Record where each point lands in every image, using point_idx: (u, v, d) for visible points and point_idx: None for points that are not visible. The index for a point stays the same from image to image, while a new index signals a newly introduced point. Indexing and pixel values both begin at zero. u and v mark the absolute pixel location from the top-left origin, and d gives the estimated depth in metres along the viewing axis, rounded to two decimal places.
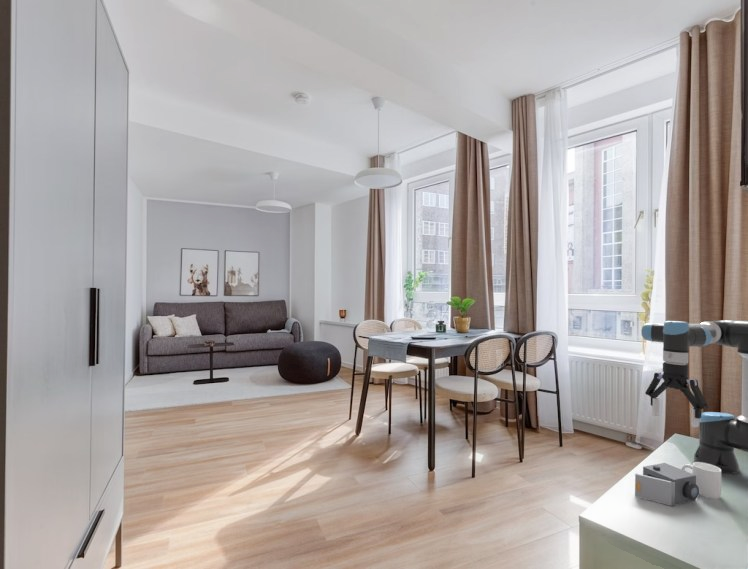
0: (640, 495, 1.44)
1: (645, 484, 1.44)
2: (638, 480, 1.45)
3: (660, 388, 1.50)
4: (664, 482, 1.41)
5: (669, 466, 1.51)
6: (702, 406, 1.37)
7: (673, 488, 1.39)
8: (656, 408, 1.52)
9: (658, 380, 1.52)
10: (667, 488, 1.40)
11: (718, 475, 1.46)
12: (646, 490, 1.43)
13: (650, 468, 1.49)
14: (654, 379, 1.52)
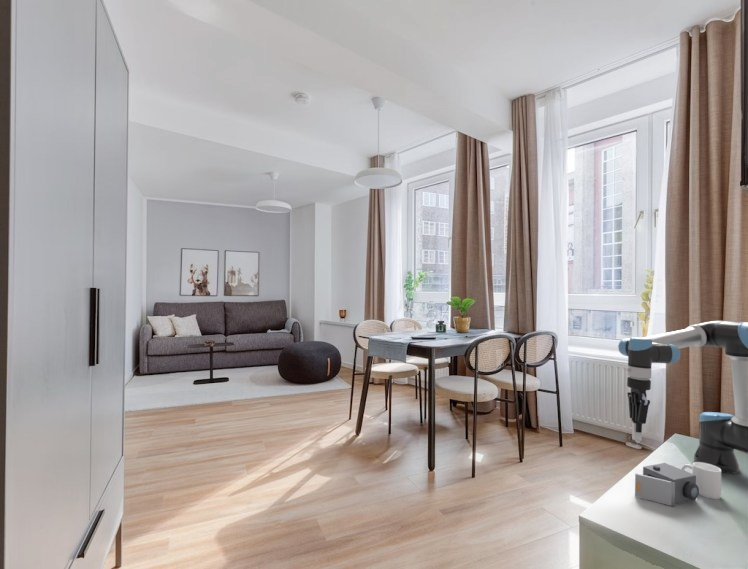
0: (640, 495, 1.44)
1: (645, 484, 1.44)
2: (638, 480, 1.45)
3: (633, 406, 1.54)
4: (664, 482, 1.41)
5: (669, 466, 1.51)
6: (638, 421, 1.49)
7: (673, 488, 1.39)
8: None
9: None
10: (667, 488, 1.40)
11: (718, 475, 1.46)
12: (646, 490, 1.43)
13: (650, 468, 1.49)
14: (629, 398, 1.57)
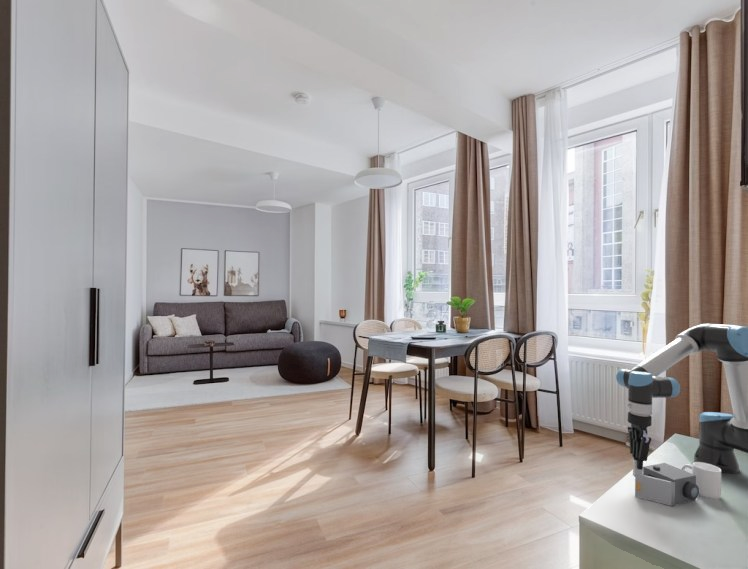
0: (640, 495, 1.44)
1: (645, 484, 1.44)
2: (638, 480, 1.45)
3: (633, 442, 1.51)
4: (664, 482, 1.41)
5: (669, 466, 1.51)
6: (639, 458, 1.46)
7: (673, 488, 1.39)
8: None
9: None
10: (667, 488, 1.40)
11: (718, 475, 1.46)
12: (646, 490, 1.43)
13: (650, 468, 1.49)
14: (629, 433, 1.55)
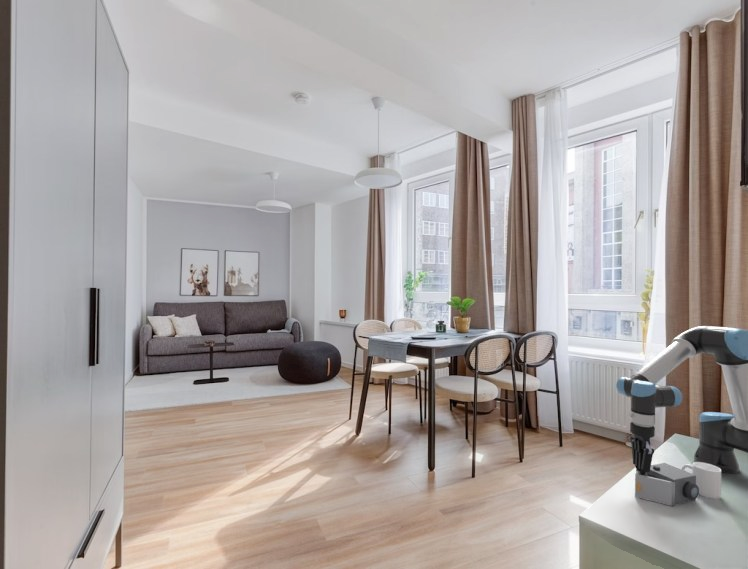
0: (640, 495, 1.44)
1: (645, 484, 1.43)
2: (638, 480, 1.45)
3: (636, 453, 1.49)
4: (664, 482, 1.40)
5: (669, 466, 1.51)
6: (642, 470, 1.44)
7: (673, 488, 1.39)
8: None
9: None
10: (667, 488, 1.40)
11: (718, 475, 1.46)
12: (646, 490, 1.43)
13: (650, 468, 1.49)
14: (632, 443, 1.52)
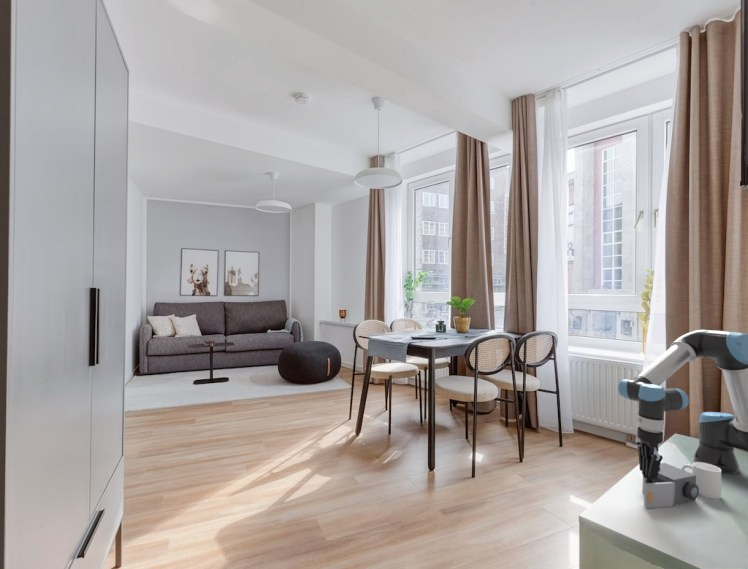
0: (650, 505, 1.37)
1: (654, 492, 1.38)
2: (649, 490, 1.37)
3: (643, 459, 1.43)
4: (668, 485, 1.39)
5: (669, 466, 1.51)
6: (649, 476, 1.38)
7: (674, 488, 1.39)
8: None
9: None
10: (670, 490, 1.39)
11: (718, 475, 1.46)
12: (655, 498, 1.38)
13: None
14: (638, 448, 1.46)
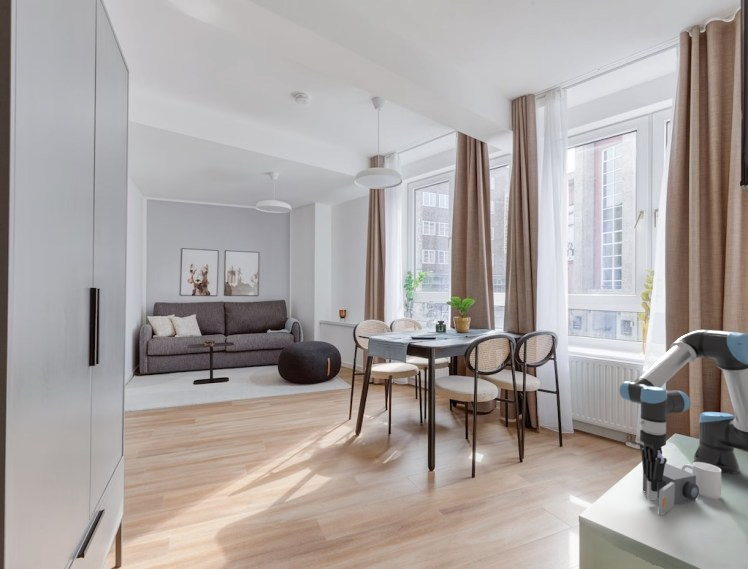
0: (664, 511, 1.34)
1: (665, 497, 1.35)
2: (663, 496, 1.33)
3: (647, 462, 1.42)
4: (672, 486, 1.38)
5: (669, 466, 1.51)
6: (653, 480, 1.37)
7: (674, 488, 1.39)
8: None
9: None
10: (672, 491, 1.38)
11: (718, 475, 1.46)
12: (666, 503, 1.35)
13: None
14: (642, 452, 1.45)
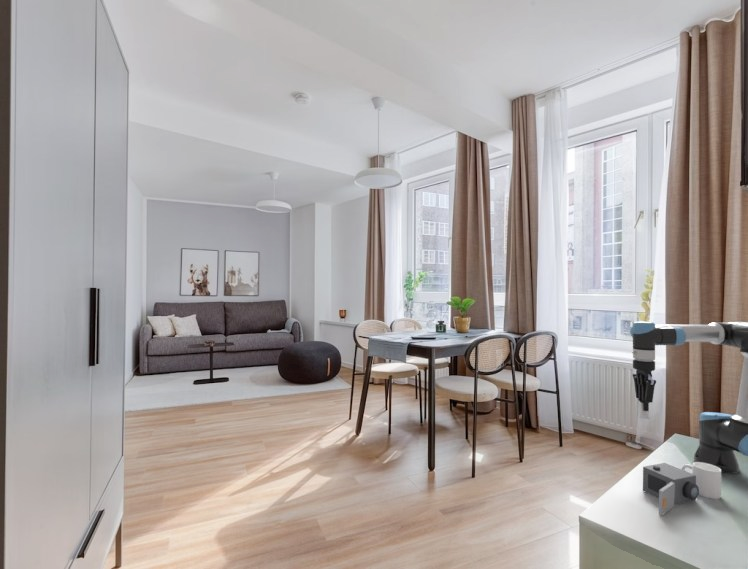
0: (664, 511, 1.34)
1: (665, 497, 1.35)
2: (663, 496, 1.33)
3: (639, 387, 1.63)
4: (672, 486, 1.38)
5: (669, 466, 1.51)
6: (645, 400, 1.58)
7: (674, 488, 1.39)
8: None
9: None
10: (672, 491, 1.38)
11: (718, 475, 1.46)
12: (666, 503, 1.35)
13: (650, 468, 1.49)
14: (634, 379, 1.66)
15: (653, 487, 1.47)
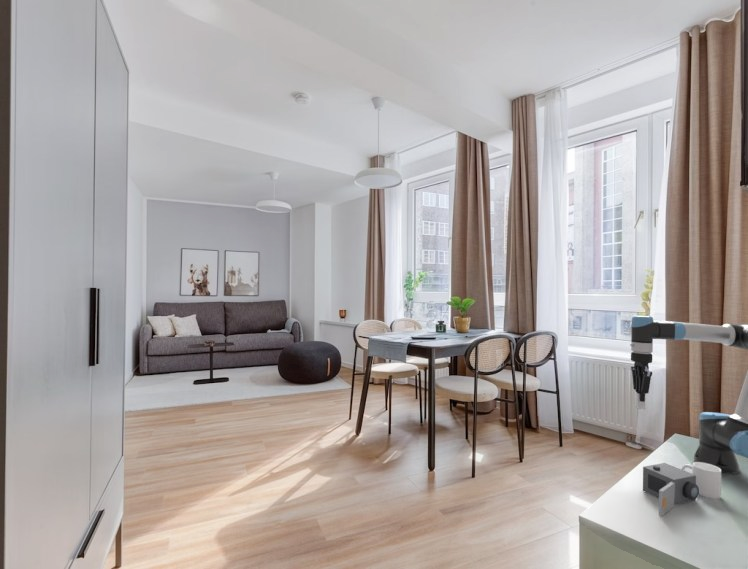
0: (664, 511, 1.34)
1: (665, 497, 1.35)
2: (663, 496, 1.33)
3: (636, 378, 1.69)
4: (672, 486, 1.38)
5: (669, 466, 1.51)
6: (641, 391, 1.64)
7: (674, 488, 1.39)
8: None
9: None
10: (672, 491, 1.38)
11: (718, 475, 1.46)
12: (666, 503, 1.35)
13: (650, 468, 1.49)
14: (632, 371, 1.72)
15: (653, 487, 1.47)
